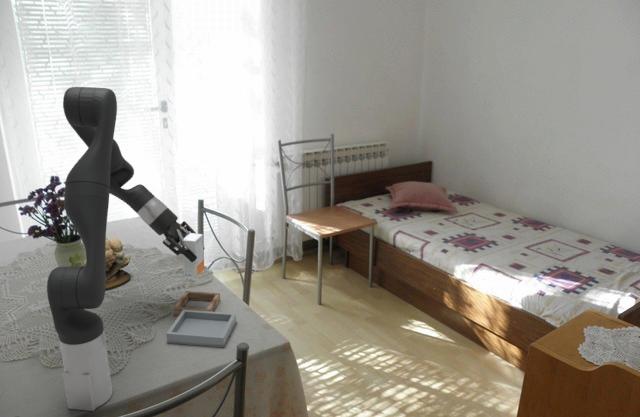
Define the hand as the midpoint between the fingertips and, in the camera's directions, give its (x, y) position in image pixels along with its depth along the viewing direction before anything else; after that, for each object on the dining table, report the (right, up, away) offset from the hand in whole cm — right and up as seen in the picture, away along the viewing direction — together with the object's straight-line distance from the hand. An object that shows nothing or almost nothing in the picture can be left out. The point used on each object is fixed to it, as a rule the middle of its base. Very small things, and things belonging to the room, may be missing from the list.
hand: (198, 255), depth 156 cm
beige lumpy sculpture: (-36, -11, +21) cm, 43 cm away
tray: (+3, -21, -7) cm, 23 cm away
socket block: (-2, -17, +6) cm, 18 cm away
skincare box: (-2, -6, +2) cm, 7 cm away
